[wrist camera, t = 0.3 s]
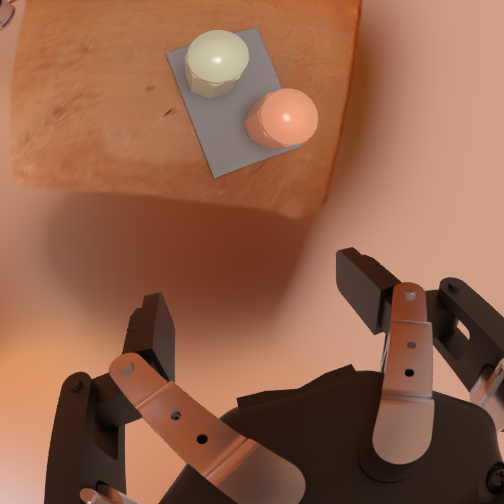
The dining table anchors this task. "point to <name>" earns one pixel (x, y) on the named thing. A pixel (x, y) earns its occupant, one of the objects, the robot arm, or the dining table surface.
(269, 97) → the faceted peach canister
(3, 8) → the energy drink
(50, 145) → the dining table surface
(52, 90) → the dining table surface
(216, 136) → the slate mat
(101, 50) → the dining table surface
